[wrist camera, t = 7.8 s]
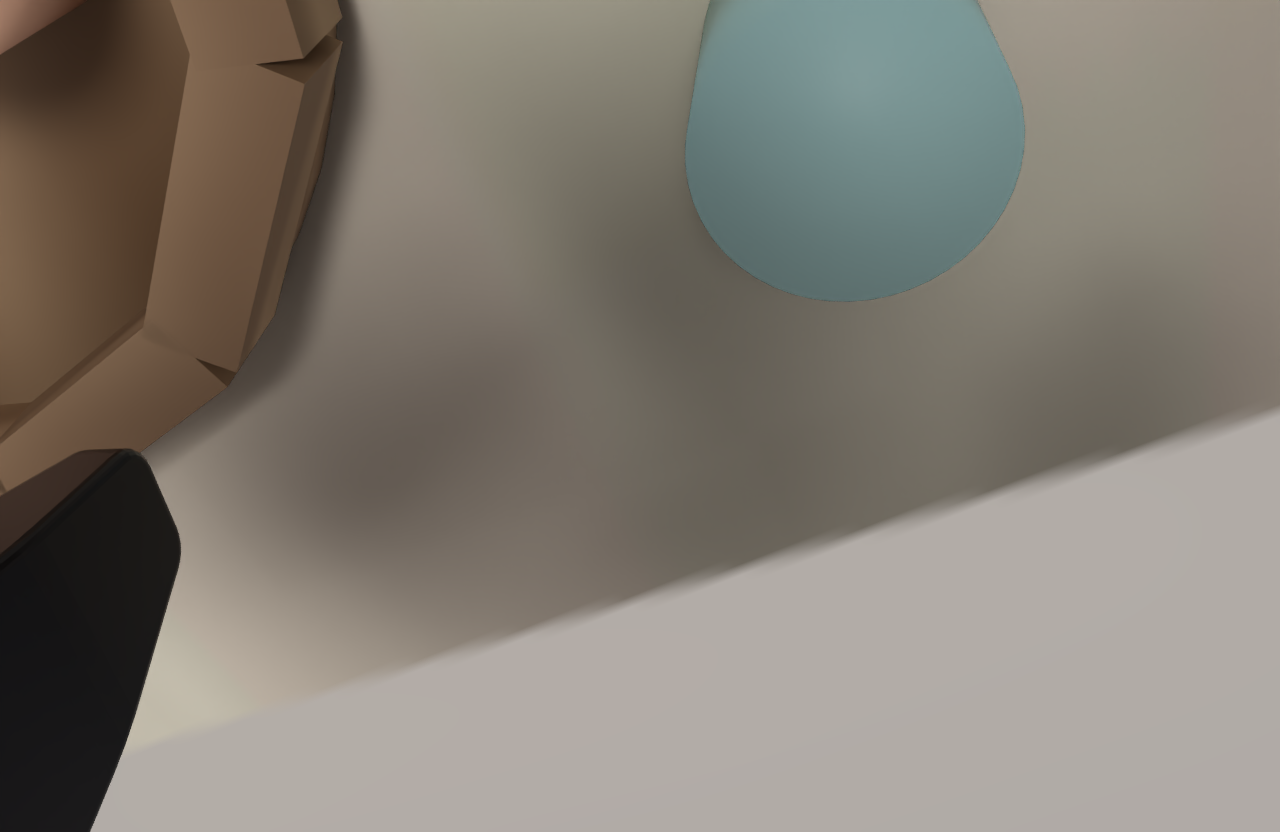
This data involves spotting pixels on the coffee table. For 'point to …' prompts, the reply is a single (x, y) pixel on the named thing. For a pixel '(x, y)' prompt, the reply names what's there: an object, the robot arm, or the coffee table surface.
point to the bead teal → (851, 140)
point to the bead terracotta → (29, 18)
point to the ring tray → (148, 210)
